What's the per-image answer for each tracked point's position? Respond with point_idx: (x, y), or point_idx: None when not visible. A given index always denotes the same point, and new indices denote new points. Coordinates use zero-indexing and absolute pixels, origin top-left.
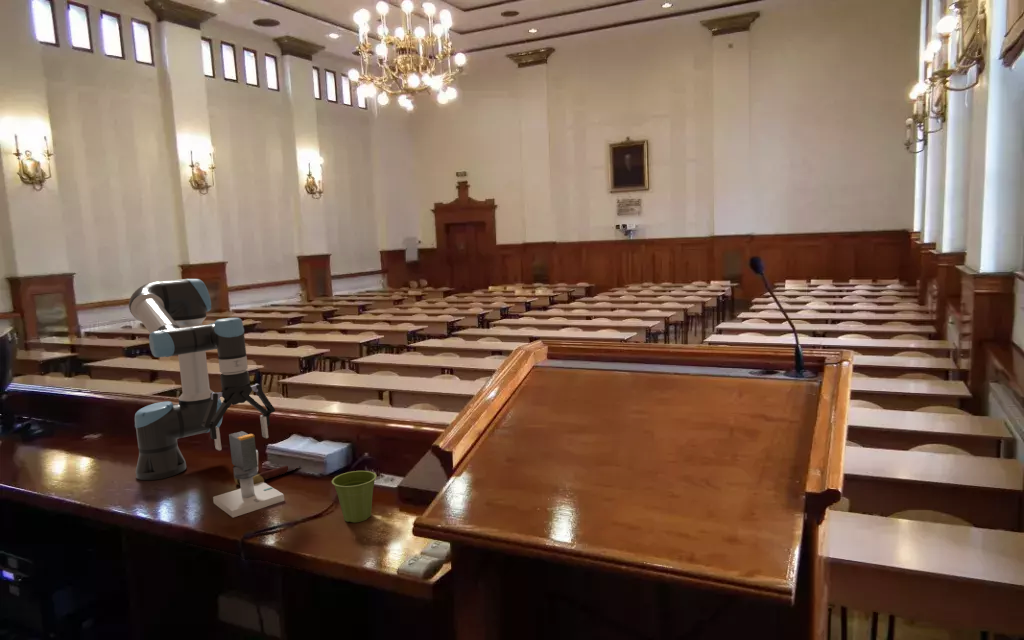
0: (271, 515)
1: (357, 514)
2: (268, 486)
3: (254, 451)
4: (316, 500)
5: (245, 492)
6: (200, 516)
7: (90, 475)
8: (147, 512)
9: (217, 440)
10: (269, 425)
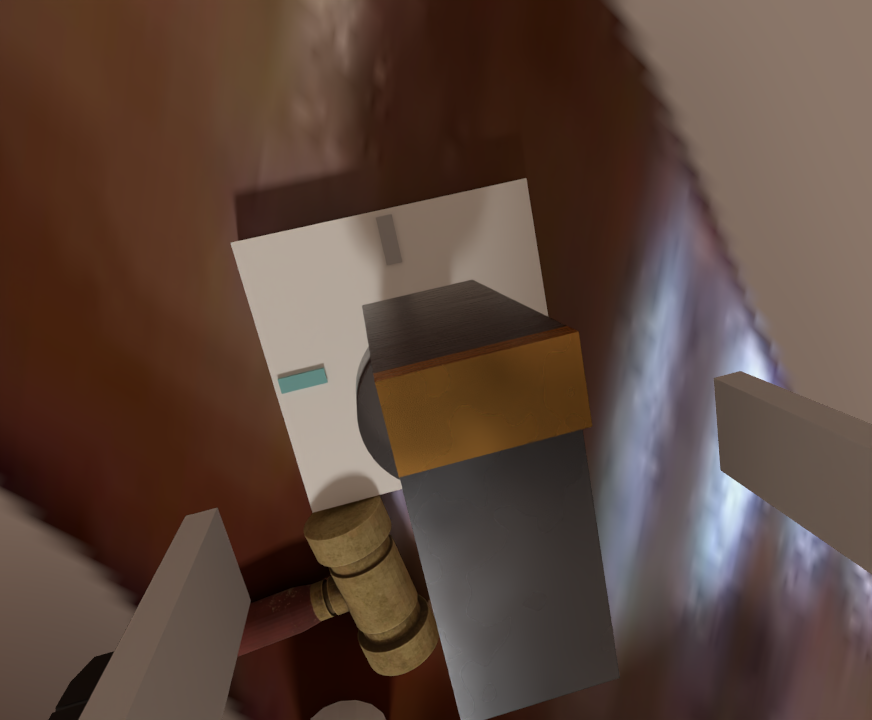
0: (336, 65)
1: None
2: (294, 422)
3: (382, 329)
4: (53, 112)
5: None
6: (634, 304)
7: None
8: None
9: (833, 415)
10: (93, 660)
